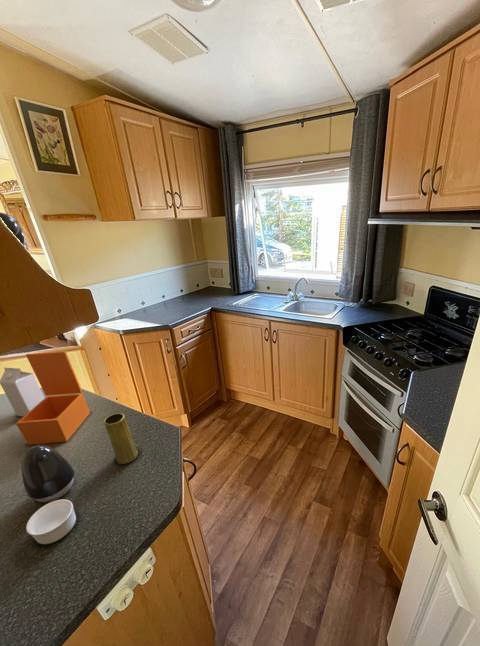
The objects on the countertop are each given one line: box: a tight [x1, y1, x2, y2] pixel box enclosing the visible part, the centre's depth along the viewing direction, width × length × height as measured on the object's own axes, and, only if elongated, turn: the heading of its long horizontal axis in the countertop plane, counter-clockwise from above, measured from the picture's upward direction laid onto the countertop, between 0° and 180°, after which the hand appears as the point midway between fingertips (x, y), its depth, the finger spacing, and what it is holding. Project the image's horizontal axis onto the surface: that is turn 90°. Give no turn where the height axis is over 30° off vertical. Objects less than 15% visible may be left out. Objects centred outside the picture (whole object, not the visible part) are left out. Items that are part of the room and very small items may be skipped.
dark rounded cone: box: [21, 444, 75, 503], centre depth 74 cm, size 10×10×15 cm
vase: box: [103, 412, 139, 465], centre depth 84 cm, size 6×6×14 cm
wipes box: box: [15, 393, 91, 446], centre depth 100 cm, size 16×13×9 cm
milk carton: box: [0, 366, 45, 417], centre depth 108 cm, size 7×7×19 cm
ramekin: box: [25, 498, 77, 545], centre depth 67 cm, size 9×9×4 cm
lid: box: [25, 350, 83, 397], centre depth 101 cm, size 16×13×1 cm
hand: (46, 326), depth 103 cm, fingers open, 8 cm apart
